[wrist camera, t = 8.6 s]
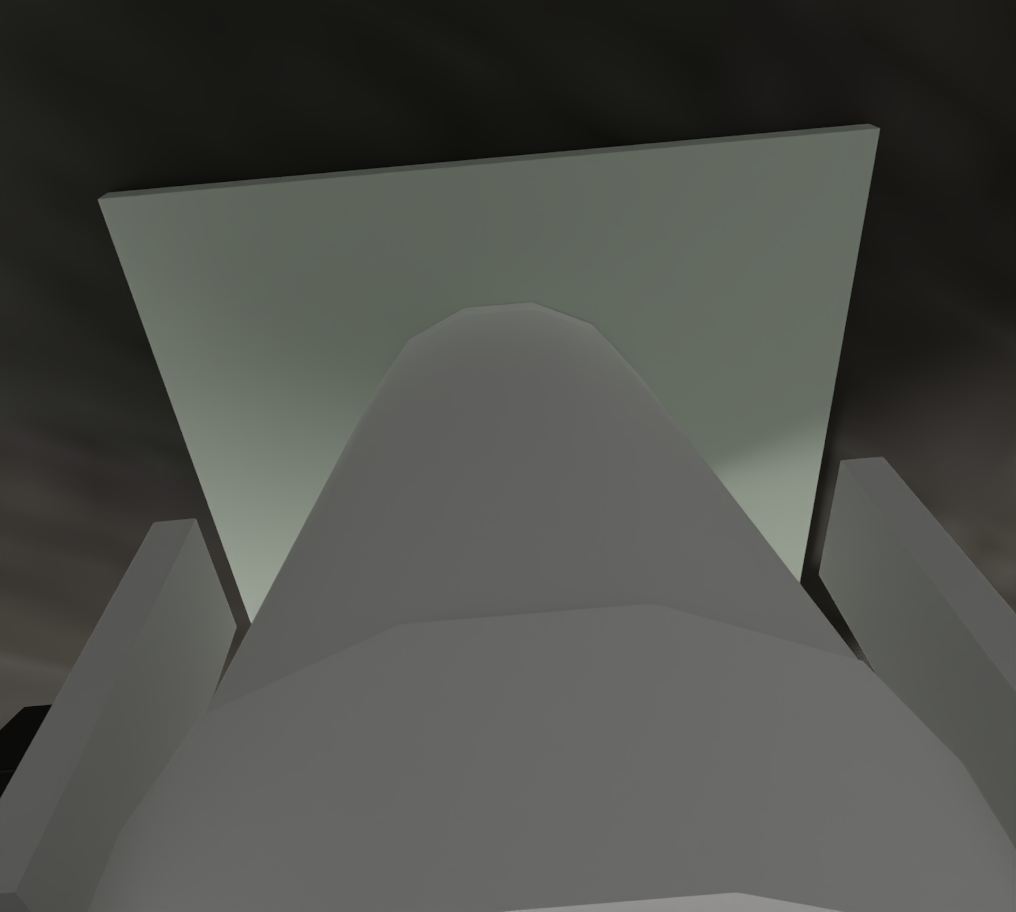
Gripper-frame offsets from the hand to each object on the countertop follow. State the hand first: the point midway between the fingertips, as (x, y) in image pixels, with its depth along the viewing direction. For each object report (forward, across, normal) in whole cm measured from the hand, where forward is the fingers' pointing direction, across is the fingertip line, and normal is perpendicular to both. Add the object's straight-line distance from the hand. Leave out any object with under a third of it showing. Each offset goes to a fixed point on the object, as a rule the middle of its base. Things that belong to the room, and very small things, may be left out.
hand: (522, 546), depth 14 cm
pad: (+5, 0, 0) cm, 5 cm away
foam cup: (+4, 0, 0) cm, 4 cm away
